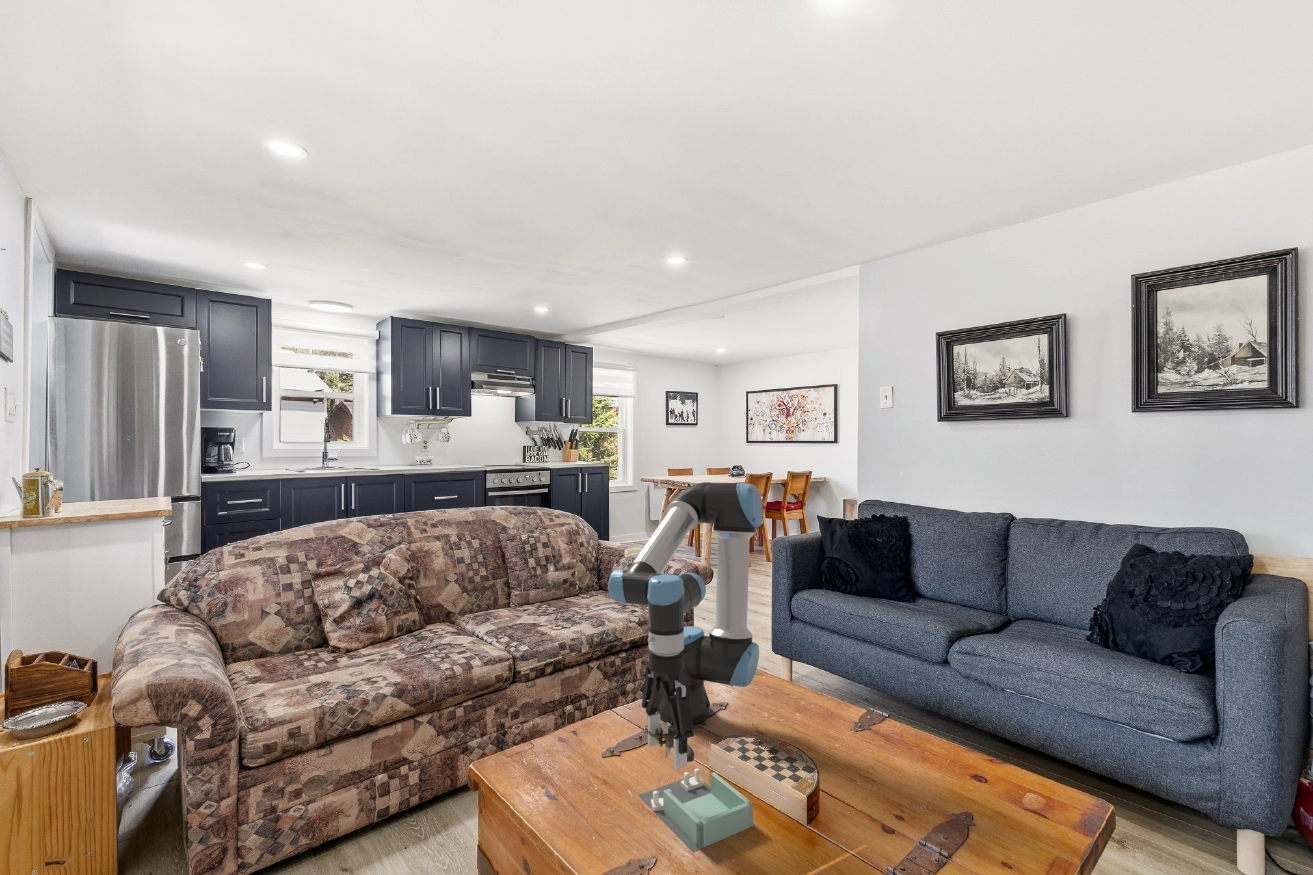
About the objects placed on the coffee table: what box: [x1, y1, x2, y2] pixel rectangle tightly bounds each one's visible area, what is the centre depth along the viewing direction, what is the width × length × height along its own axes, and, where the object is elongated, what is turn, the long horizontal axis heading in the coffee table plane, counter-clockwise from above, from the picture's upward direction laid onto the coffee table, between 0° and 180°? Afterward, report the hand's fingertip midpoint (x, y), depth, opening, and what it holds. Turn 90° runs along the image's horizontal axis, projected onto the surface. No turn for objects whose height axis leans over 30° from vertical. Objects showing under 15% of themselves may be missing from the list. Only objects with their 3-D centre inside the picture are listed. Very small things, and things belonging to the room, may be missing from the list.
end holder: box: [663, 772, 754, 850], centre depth 124 cm, size 13×13×4 cm
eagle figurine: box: [647, 722, 695, 763], centre depth 130 cm, size 8×7×9 cm
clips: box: [651, 768, 705, 812], centre depth 132 cm, size 14×6×3 cm, turn 121°
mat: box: [638, 774, 756, 853], centre depth 127 cm, size 15×21×1 cm
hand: (666, 755), depth 129 cm, fingers closed on eagle figurine, 10 cm apart
